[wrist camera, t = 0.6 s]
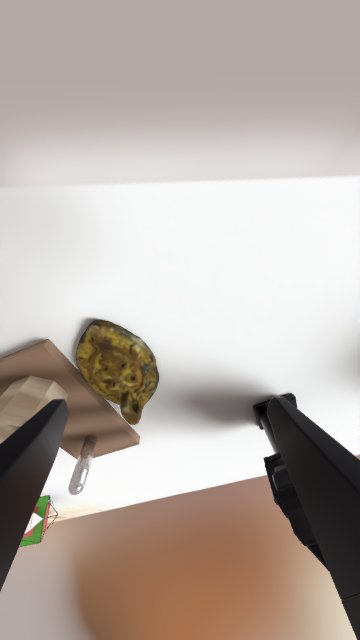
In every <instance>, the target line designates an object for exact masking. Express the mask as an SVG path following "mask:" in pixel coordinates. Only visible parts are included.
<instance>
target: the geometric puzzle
mask: <svg viewBox="0 0 360 640" xmlns="http://www.w3.org/2000/svg"><path fill="white" fill-rule="evenodd" d="M49 499H50V495H49V496H45V497H40V498H39V500H38V502H37V504H36V507H35V509H34V512H33V514H32V516H31V519H30V521H29V524H28V526H27V528H26V531H25V533H24V536H23V538H22V541H21V545H20V547H22V546H27V545H31V544H37V543H41V536H42V532H44V531H45V529H46V524H47V519H48V518H49V517H48V514H49V508H50V505H51V503H48V500H49ZM52 503H53V502H52ZM51 506H52V505H51ZM53 509H54V508H53ZM54 510H55V509H54ZM55 512H56V511H55ZM56 513H57V512H56ZM57 514H58V513H57ZM58 515H59V514H58ZM58 515H57V516H58ZM55 516H56V515H55ZM57 516H56V517H57ZM50 517H53V516H50ZM53 521H55V520H53ZM53 521H52V522H53Z"/></svg>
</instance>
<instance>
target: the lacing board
mask: <svg viewBox="0 0 360 640" xmlns="http://www.w3.org/2000/svg"><path fill="white" fill-rule="evenodd" d="M29 376H34V377H39V378H43V379H48V380H53V381H55V382H56V383H57V384H58V385H59V386H60V387H61V388H62V389H63V390H64V391H65V392H67V393H68V395H67V400H66V404H67V407H68V410H69V416H68V420H67V423H66V426H65V430H64V433H63V436H62V439H61V443H60V446H59V447H61V448H62V449H63V450H65V451H66V452H68V453H69V454H70V455H72V456H73V457H75V458H76V459H77V460H78V458H79V455H80V452H81V449H82V446H83V443H84V440H85V437H86V436H88V435H95V436H96V437H97V438H98V439H97V443H96V446H95V450H94V453H93V457H92V458H95V457H98V456H102V455H105V454H108V453H112V452H115V451H118V450H121V449H125V448H128V447H131V446H135V445H138V444H139V439H140V436H139V435H138V434H137V433H136V432H135V431H134V430H133V429H132V428H131V427H130V426H129V425H128V424H127V423H126V421H125V420H124V419H123V418H122V417H121V416H120V415H119V414H118V413H117V412H116V411H115V410H114V409H113V408H112V406H111V405H110V404H109V403H108V402H107V401H106V400H105V399H104V398H103V397H102V396H101V395H99V394H98V393H97V392H96V391H95V390H94V389H93V388H92V387H91V386H90V385H89V384H88V383H87V380H86V379H85V378H84V377H83V375H82V374H81V373H80V372H79V371H78V370H77V369H76V368H75V367H74V366H73V365H72V364H71V363H70V362H69V360H68V359H67V358H66V357H65V356H64V355H63V354H62V353H61V352H60V351H59V350H58V349H57V348H56V347H55V345H54V344H53V343H52V342H51V341H50V340H49V339H48V340H46V341H43V342H41V343H39V344H36V345H34V346H31V347H29V348H26V349H24V350H21V351H19V352H16V353H14V354H11V355H9V356H6V357H4V358H1V359H0V397H1V395H2V394H3V393H4V392H5V391H6V390H7V389H8V387H9V386H10V385H11V384H12V383H13V382H16V381H18V380H21V379H23V378H26V377H29Z"/></svg>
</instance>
